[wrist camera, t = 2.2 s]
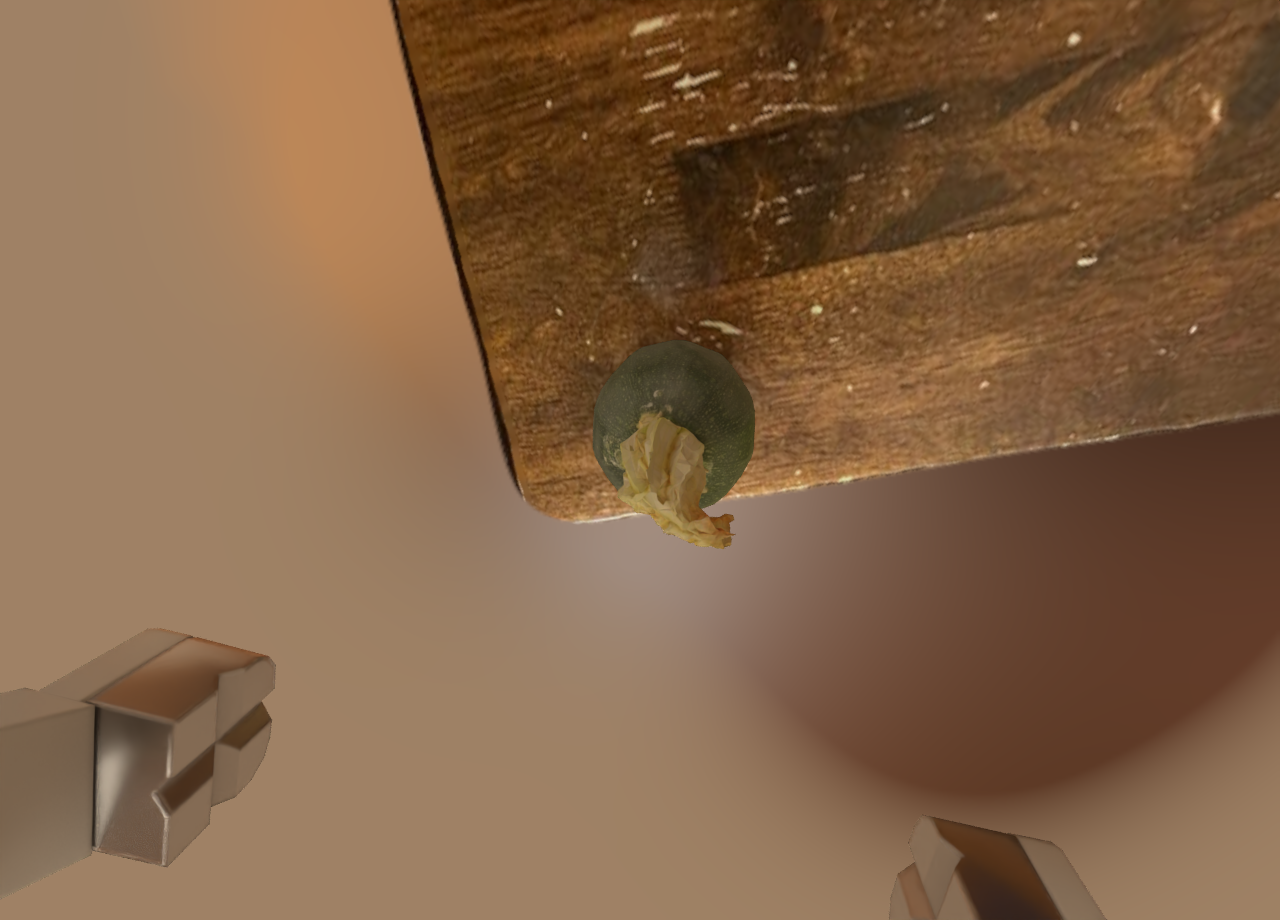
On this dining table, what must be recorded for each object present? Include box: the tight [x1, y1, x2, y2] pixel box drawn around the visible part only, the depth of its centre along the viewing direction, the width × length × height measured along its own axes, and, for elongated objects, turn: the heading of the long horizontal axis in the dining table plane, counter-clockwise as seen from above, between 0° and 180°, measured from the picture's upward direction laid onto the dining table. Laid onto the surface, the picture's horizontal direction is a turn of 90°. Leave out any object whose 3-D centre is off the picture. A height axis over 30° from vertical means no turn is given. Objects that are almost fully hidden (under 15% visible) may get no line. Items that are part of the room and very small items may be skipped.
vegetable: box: [593, 340, 755, 549], centre depth 22 cm, size 4×4×20 cm
